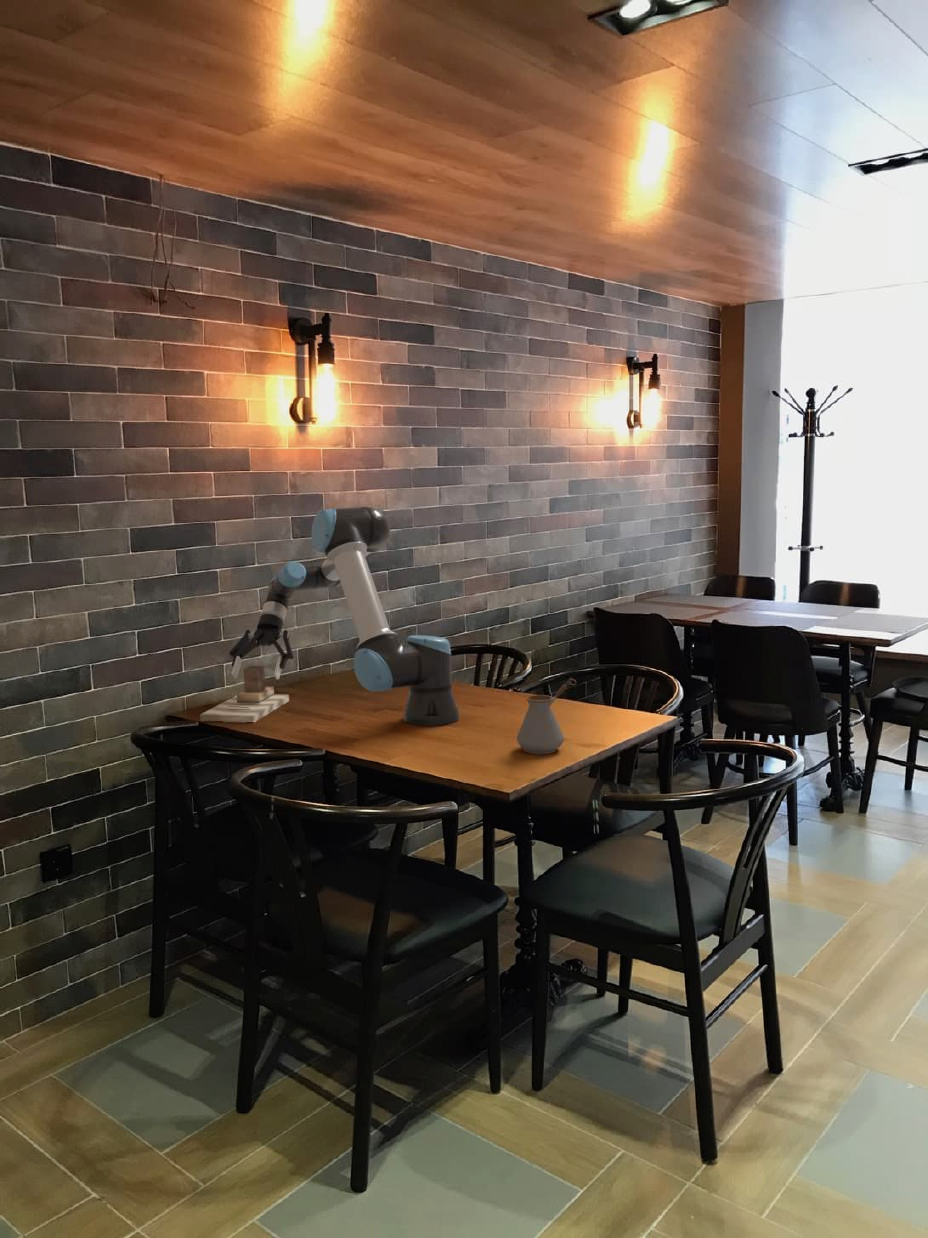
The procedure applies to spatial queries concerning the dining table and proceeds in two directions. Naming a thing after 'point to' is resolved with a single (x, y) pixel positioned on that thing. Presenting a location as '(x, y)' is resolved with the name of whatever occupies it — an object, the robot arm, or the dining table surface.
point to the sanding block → (254, 686)
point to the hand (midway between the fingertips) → (254, 676)
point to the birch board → (243, 709)
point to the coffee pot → (541, 725)
